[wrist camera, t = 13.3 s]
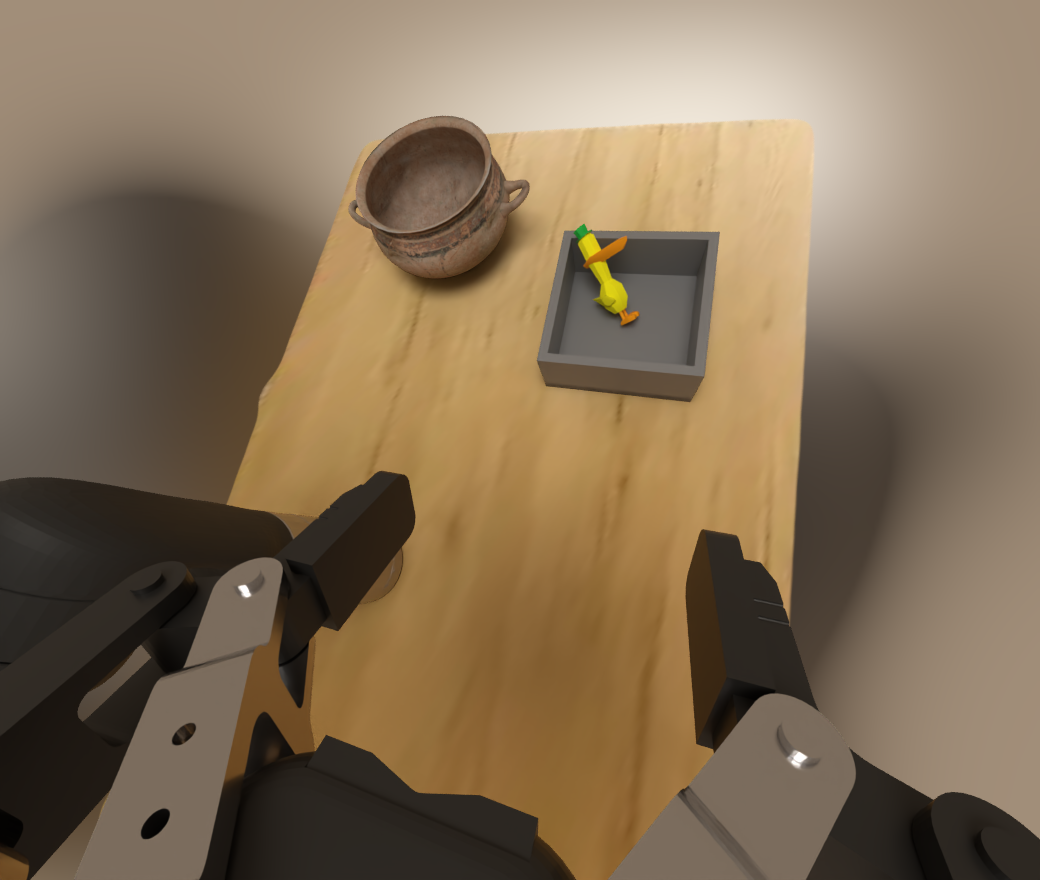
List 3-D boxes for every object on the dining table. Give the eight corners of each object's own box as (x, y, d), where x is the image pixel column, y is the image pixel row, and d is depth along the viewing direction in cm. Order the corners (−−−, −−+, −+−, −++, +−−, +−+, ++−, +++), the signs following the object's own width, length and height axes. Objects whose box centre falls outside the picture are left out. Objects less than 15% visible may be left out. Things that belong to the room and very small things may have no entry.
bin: (546, 385, 49) (536, 360, 43) (569, 270, 53) (564, 230, 47) (690, 401, 45) (704, 376, 39) (704, 274, 49) (719, 231, 42)
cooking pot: (545, 186, 58) (529, 95, 47) (535, 297, 53) (515, 227, 42) (393, 203, 64) (345, 127, 52) (371, 305, 59) (314, 246, 47)
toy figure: (662, 302, 46) (616, 202, 43) (653, 312, 44) (604, 206, 40) (612, 325, 51) (568, 237, 47) (602, 335, 48) (555, 243, 45)
